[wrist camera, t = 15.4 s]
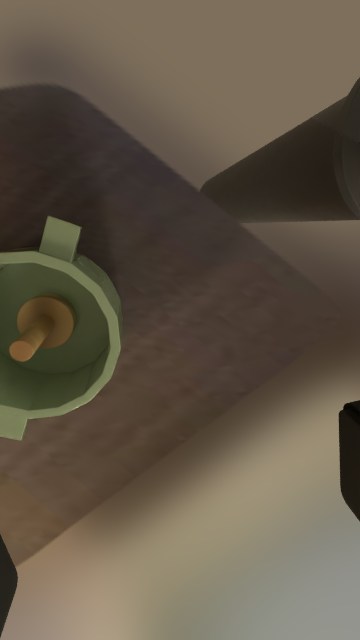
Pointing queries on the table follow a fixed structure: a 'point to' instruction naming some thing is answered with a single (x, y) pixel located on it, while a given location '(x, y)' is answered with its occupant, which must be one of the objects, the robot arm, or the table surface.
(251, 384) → the table surface
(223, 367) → the table surface
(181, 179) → the table surface
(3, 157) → the table surface
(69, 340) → the pot
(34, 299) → the disc with rod handle
